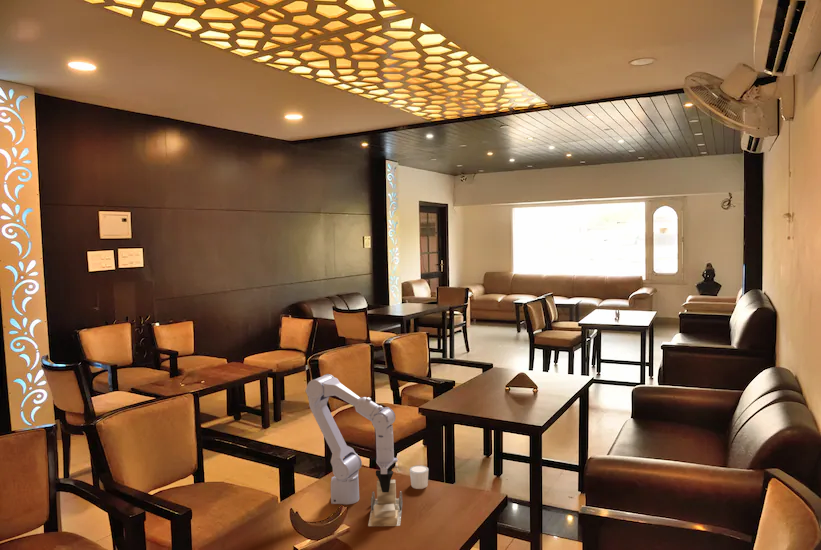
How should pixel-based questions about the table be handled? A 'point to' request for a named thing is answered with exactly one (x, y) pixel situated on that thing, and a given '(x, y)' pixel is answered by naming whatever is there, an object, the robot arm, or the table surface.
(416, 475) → the white cylinder
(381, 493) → the birch block
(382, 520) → the offcut lower
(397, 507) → the rack
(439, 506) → the table surface
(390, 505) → the offcut upper
